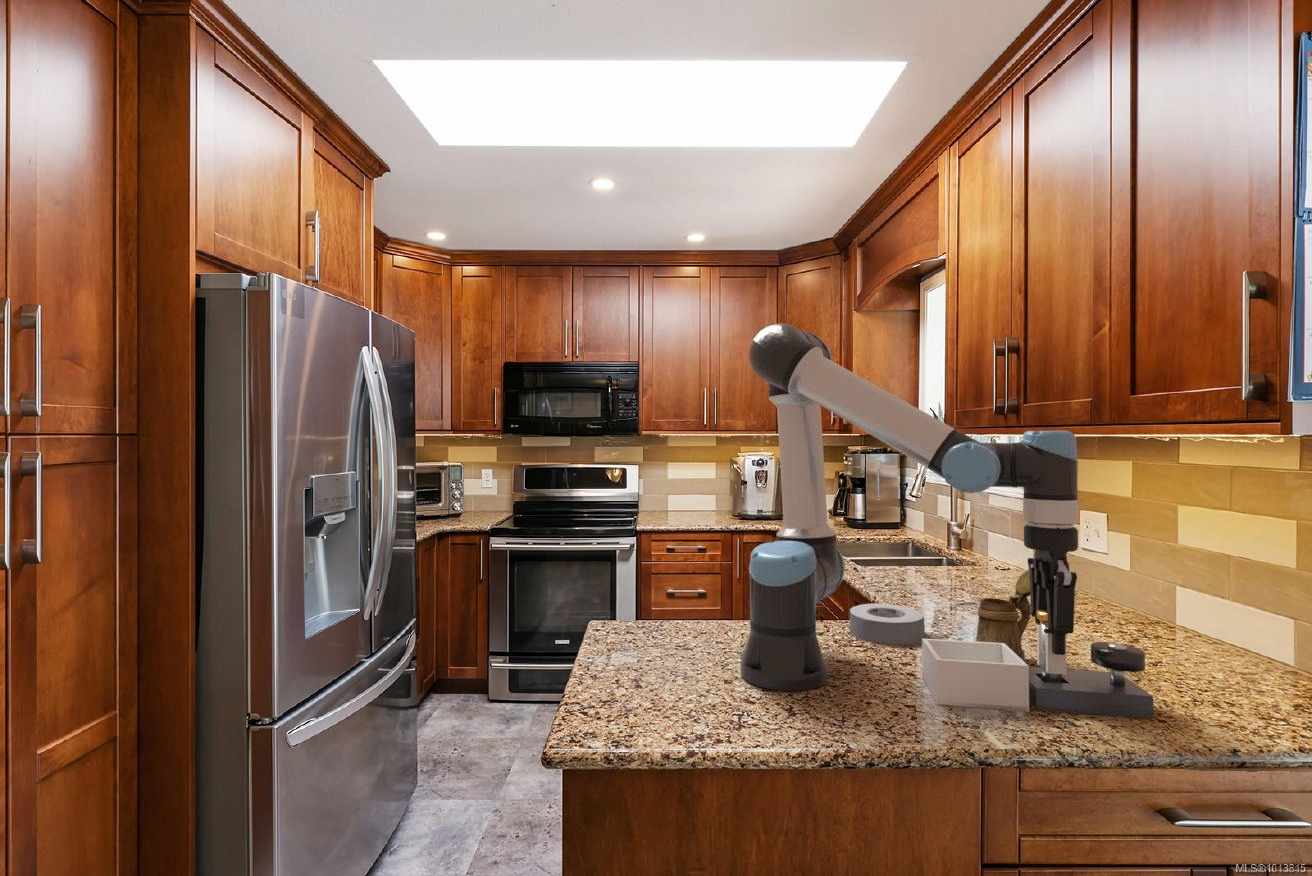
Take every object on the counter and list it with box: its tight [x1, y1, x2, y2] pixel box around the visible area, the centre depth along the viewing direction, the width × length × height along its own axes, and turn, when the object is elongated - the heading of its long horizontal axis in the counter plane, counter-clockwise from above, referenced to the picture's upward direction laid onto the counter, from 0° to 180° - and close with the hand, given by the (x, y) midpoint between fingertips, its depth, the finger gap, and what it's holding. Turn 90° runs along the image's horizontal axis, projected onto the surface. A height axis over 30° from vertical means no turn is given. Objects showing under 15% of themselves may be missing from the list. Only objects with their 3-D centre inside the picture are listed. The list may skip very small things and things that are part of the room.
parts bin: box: [921, 638, 1030, 712], centre depth 105 cm, size 13×11×7 cm
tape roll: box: [849, 603, 925, 646], centre depth 138 cm, size 15×15×5 cm
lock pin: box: [1037, 609, 1063, 683], centre depth 102 cm, size 4×4×14 cm
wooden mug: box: [975, 569, 1031, 664], centre depth 122 cm, size 9×14×18 cm, turn 93°
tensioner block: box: [1029, 641, 1154, 720], centre depth 101 cm, size 17×10×10 cm, turn 78°
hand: (1051, 668), depth 102 cm, fingers closed on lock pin, 3 cm apart
